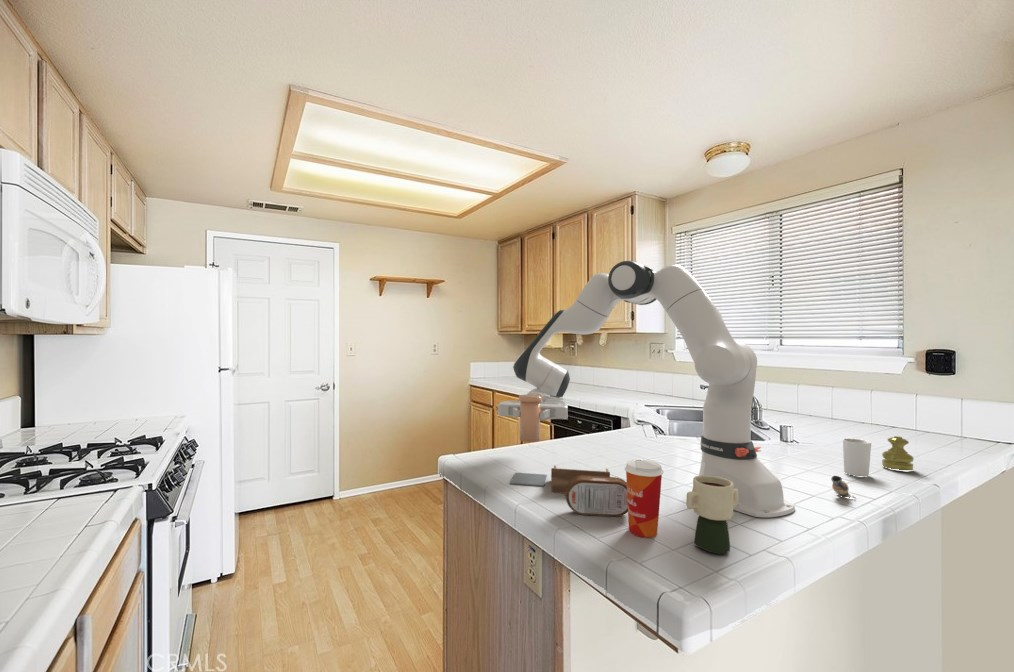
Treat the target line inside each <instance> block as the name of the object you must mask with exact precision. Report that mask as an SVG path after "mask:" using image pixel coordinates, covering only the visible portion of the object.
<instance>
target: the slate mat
mask: <svg viewBox="0 0 1014 672" xmlns="http://www.w3.org/2000/svg"><path fill="white" fill-rule="evenodd" d="M547 477H548V474H545V473H544V474H543V473H531V472H530V473H527V472H514V475H513V477H512V479H511V480H510V482H509V484H510V485H515V486H517V485H519V486H528V487H529V486H530V487H542V488H543V487H545V484H546V481H547Z"/></svg>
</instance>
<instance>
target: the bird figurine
mask: <svg viewBox="0 0 1014 672" xmlns="http://www.w3.org/2000/svg"><path fill="white" fill-rule="evenodd" d="M831 482H832V485H831V486H832V490H833V491H834V494H836V495H837V494H838V495H839V496H838V495H837V496H838V497H840V496H842V497H841V498H843V497H849V498H850V497H852V498H854V500H856V499H857V497H855V496H854V495H852V494H850V493H849V486H848V483H847V482H845V481H843V478H842V477H841V476H839V475H833V476H832V477H831Z"/></svg>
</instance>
